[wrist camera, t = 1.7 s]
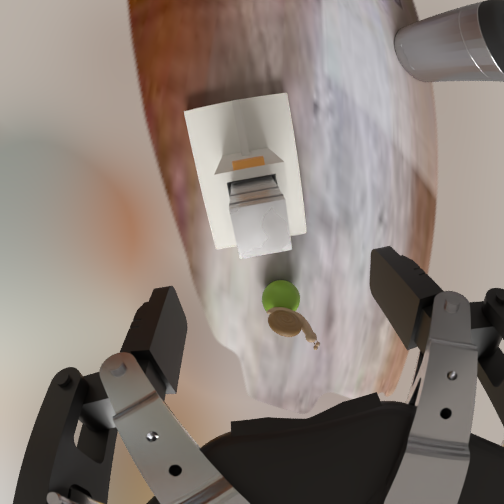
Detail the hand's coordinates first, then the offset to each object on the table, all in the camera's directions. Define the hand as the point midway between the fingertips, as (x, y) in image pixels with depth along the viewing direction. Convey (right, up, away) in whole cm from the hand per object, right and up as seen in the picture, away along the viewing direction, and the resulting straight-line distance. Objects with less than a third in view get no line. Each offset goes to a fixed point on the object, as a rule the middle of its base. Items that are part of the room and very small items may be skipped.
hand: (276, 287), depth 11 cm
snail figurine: (+4, -4, +32) cm, 32 cm away
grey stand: (-1, +12, +23) cm, 26 cm away
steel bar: (-1, +10, +21) cm, 23 cm away
